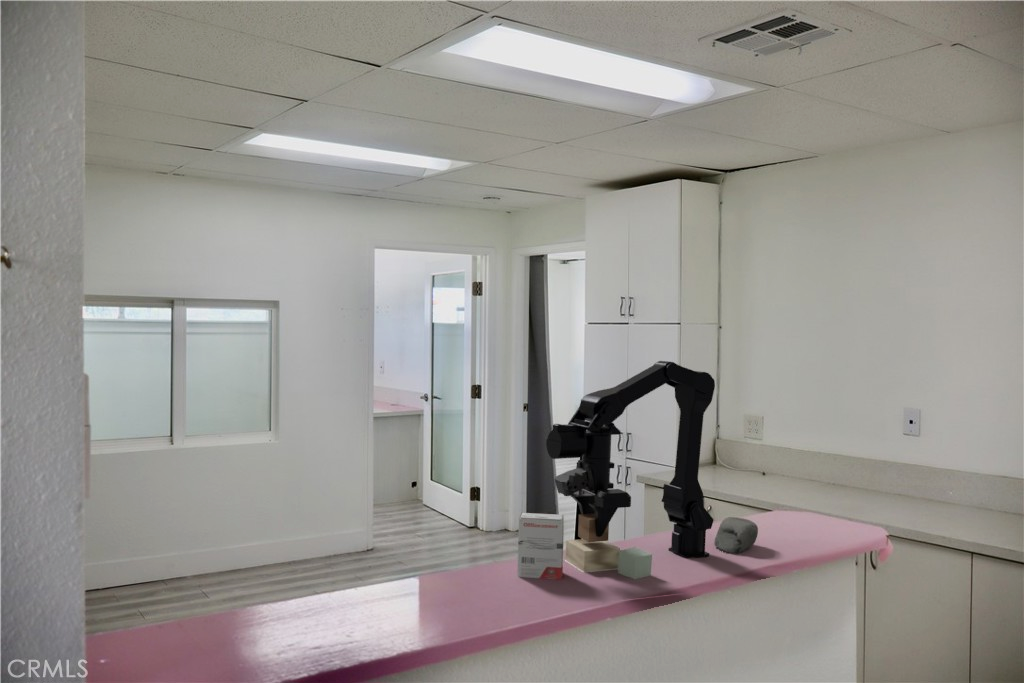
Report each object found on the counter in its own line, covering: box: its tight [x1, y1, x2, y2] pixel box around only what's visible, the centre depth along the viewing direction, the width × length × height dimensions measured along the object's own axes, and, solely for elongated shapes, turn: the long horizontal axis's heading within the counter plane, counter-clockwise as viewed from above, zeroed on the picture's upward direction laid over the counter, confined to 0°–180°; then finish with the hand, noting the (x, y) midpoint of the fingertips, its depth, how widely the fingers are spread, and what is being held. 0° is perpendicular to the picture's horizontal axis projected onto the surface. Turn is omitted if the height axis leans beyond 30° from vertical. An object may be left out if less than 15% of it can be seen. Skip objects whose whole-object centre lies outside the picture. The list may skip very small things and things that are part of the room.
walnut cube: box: [577, 513, 610, 542], centre depth 158 cm, size 4×4×4 cm
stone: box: [714, 516, 759, 555], centre depth 176 cm, size 9×9×10 cm
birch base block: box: [564, 538, 621, 573], centre depth 158 cm, size 8×8×4 cm
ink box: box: [517, 512, 565, 581], centre depth 150 cm, size 9×5×12 cm, turn 84°
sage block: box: [617, 546, 653, 580], centre depth 153 cm, size 4×4×4 cm
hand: (593, 533), depth 158 cm, fingers closed on walnut cube, 4 cm apart
